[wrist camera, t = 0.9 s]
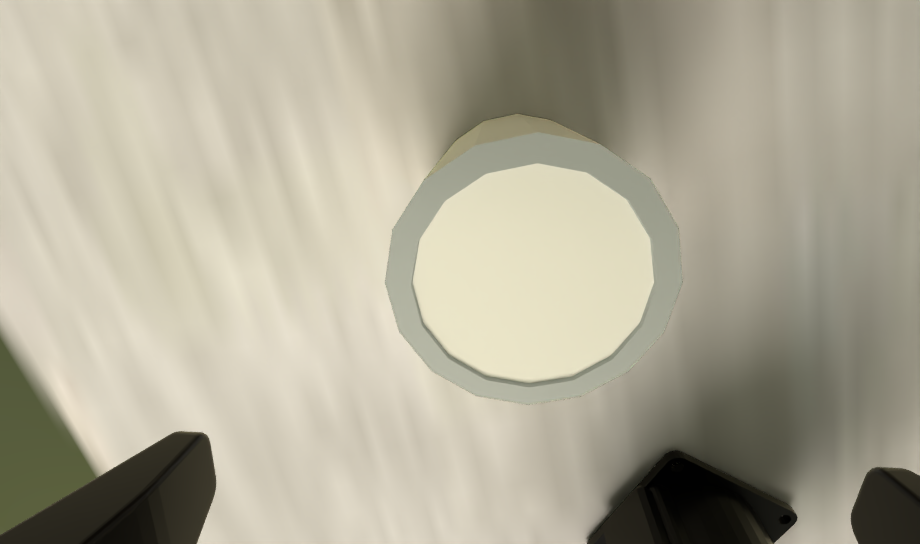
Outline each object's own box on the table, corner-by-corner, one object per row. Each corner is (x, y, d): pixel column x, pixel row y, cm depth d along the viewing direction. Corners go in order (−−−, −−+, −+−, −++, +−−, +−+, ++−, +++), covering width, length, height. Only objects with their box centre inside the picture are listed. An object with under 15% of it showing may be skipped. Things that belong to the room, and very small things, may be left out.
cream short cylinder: (519, 45, 18) (541, 60, 11) (660, 197, 20) (748, 284, 13) (373, 199, 20) (323, 285, 14) (512, 324, 22) (526, 452, 15)
